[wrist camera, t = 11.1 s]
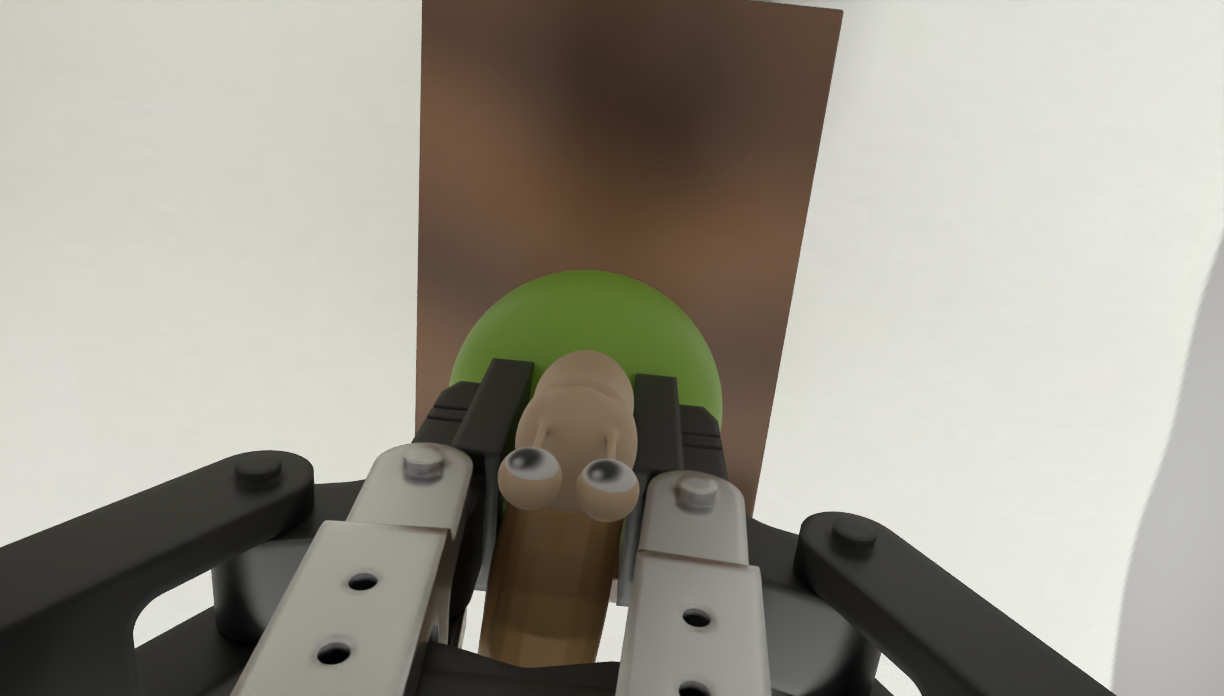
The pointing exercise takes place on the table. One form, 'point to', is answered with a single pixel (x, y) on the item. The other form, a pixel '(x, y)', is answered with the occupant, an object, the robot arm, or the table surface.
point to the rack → (623, 172)
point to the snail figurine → (573, 449)
